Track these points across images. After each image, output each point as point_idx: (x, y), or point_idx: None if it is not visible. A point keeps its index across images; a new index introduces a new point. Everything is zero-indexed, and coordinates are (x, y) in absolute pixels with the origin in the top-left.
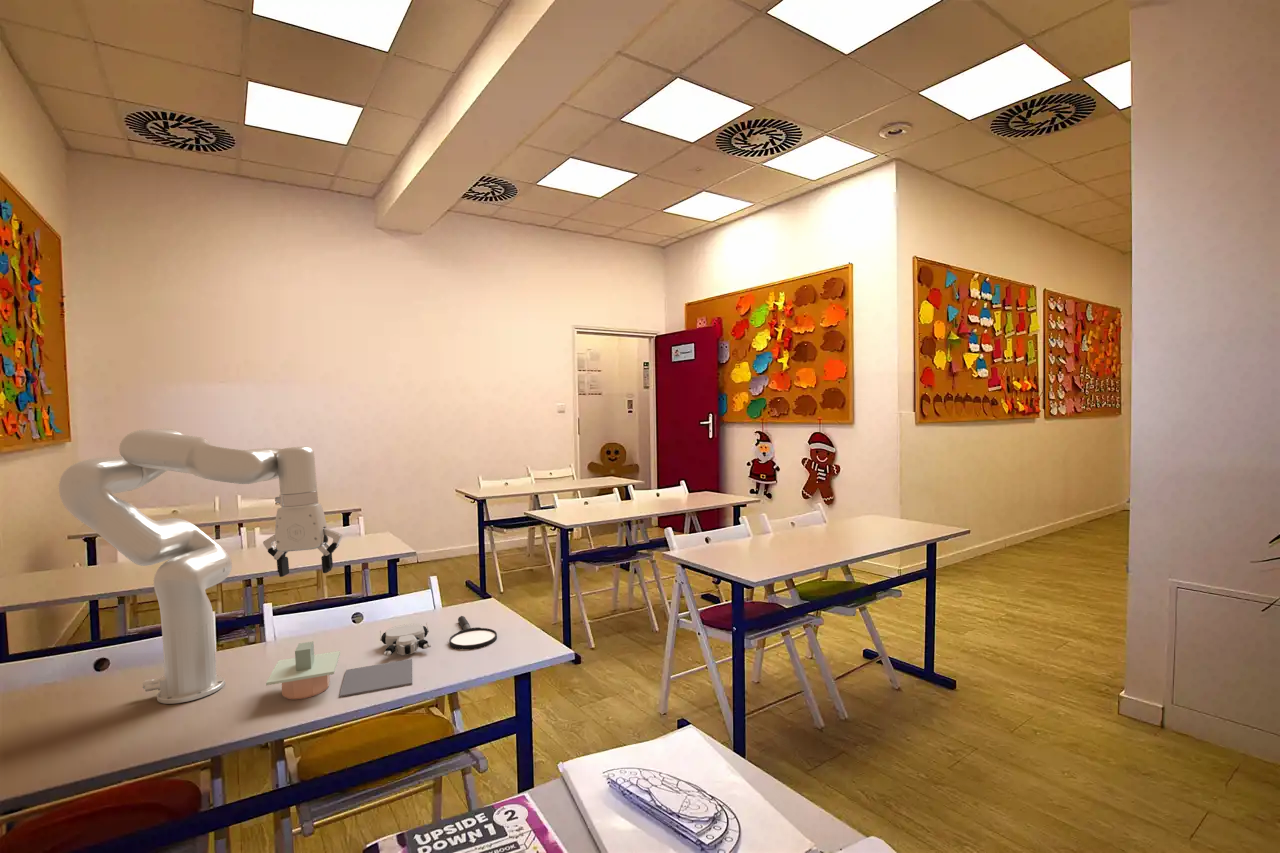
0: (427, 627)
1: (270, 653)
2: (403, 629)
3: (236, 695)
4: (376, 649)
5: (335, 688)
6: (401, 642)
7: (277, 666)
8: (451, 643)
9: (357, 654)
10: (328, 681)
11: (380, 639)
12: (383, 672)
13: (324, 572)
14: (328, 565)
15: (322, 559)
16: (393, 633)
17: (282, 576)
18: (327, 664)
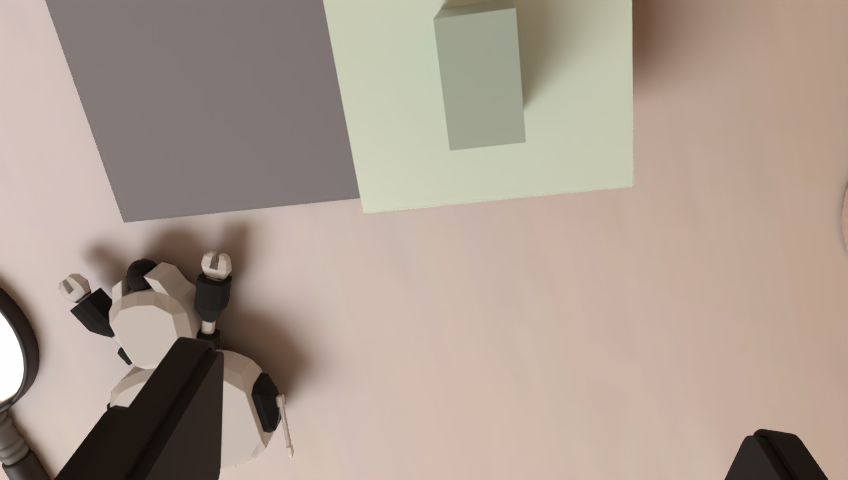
0: None
1: (712, 470)
2: None
3: (771, 91)
4: (308, 375)
5: None
6: (158, 305)
7: (621, 103)
8: (3, 308)
9: (370, 352)
10: None
11: (280, 396)
12: (196, 114)
13: (196, 341)
14: (113, 424)
15: (113, 478)
16: None
17: (753, 438)
18: (372, 43)
